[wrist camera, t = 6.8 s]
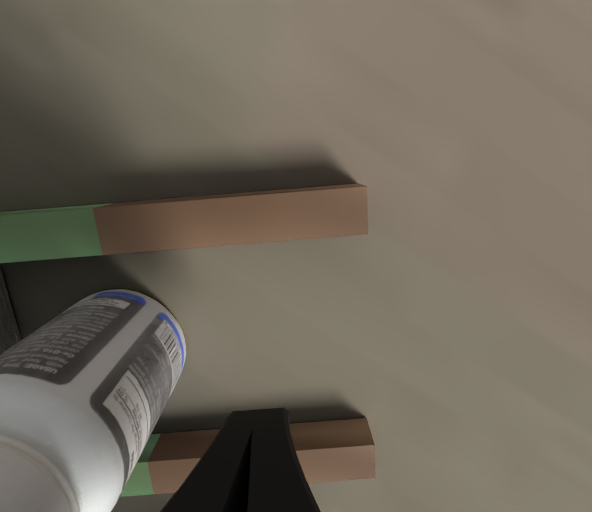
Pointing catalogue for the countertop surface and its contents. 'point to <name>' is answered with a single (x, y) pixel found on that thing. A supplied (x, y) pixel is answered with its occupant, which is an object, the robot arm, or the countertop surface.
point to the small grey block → (7, 320)
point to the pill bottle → (84, 401)
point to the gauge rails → (193, 234)
